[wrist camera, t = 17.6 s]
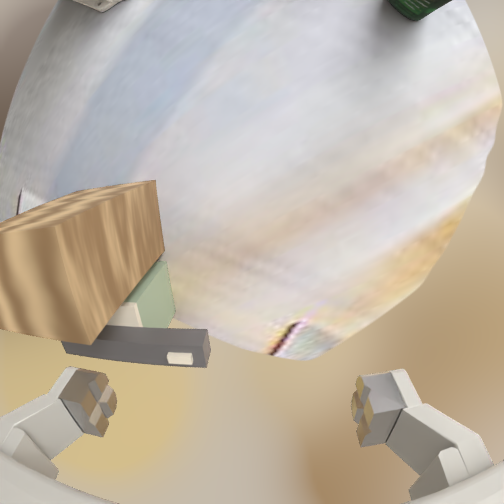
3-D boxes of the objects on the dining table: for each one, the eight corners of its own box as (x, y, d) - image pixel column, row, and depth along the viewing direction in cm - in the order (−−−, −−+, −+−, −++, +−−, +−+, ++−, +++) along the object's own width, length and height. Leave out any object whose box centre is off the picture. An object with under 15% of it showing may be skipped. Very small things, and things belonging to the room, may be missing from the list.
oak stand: (88, 253, 50) (-1, 328, 26) (77, 191, 46) (-32, 238, 21) (164, 250, 49) (91, 345, 25) (155, 180, 45) (54, 226, 21)
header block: (119, 309, 54) (85, 356, 40) (107, 262, 50) (65, 303, 36) (175, 310, 53) (150, 364, 39) (166, 261, 50) (133, 306, 36)
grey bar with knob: (76, 340, 39) (63, 356, 35) (69, 321, 38) (55, 337, 34) (210, 350, 38) (205, 371, 34) (207, 329, 36) (201, 350, 32)
